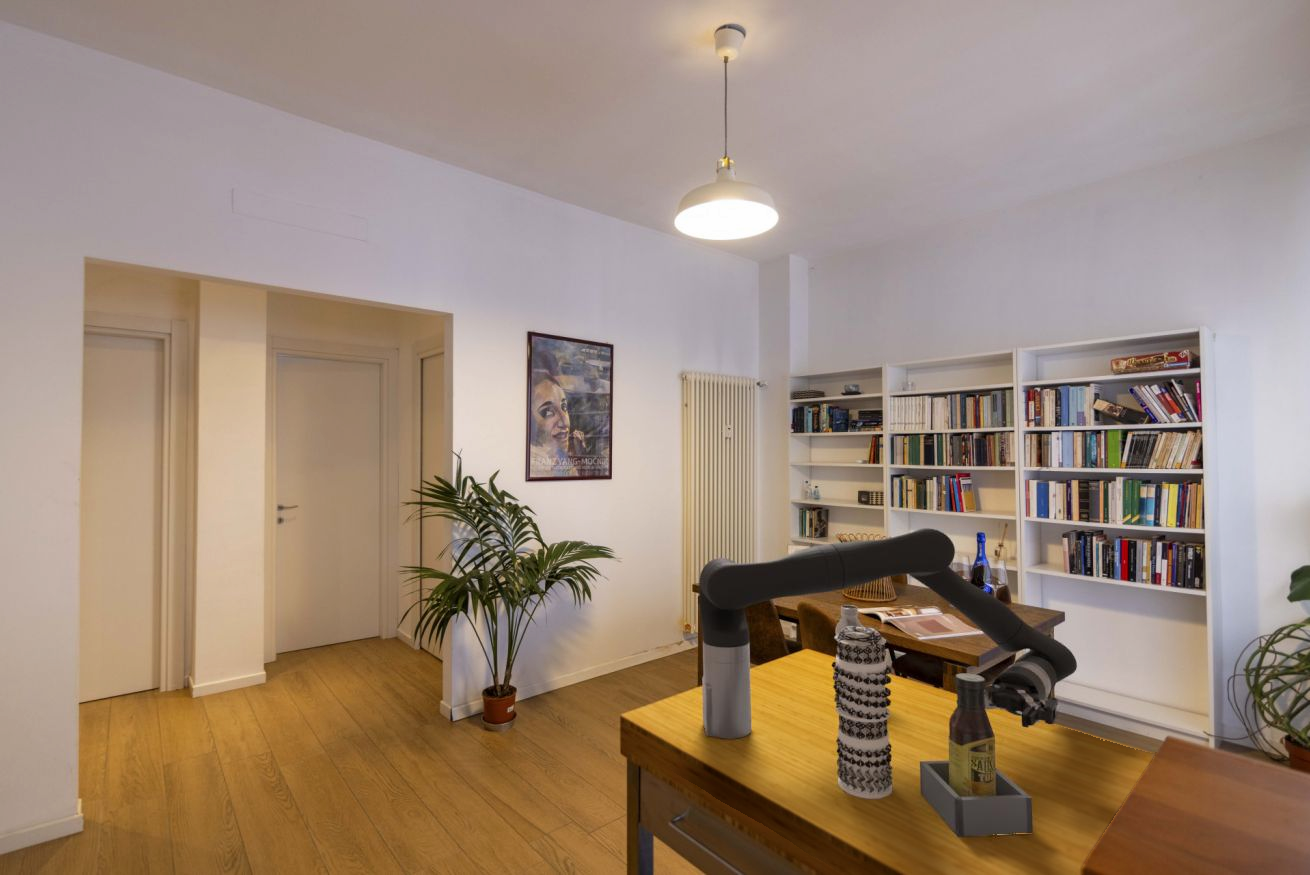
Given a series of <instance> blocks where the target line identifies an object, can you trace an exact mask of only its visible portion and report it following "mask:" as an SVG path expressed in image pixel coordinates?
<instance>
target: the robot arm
mask: <svg viewBox="0 0 1310 875" xmlns="http://www.w3.org/2000/svg"><path fill="white" fill-rule="evenodd" d="M955 548H956V547H955V545H954V542H953V540H951V538H950V537H949V536H948V535H947V534H945V533H944V532H942V531H940V530H938V529H934V528H928V527H927V528H919V529H917V530H914V531H912V532H908V533H904V534H901V535H897V536H892V537H888V538H883V539H882V538H881V539H872V540H871V539H870V540H857V541H855V540H853V541H844V542H836V543H834V542H833V543H826V544H821V545H814V546H809V547H806V548H802V549H799V550H797V551H794V552H792V553H790V554H787V555H784V556H783V557H780V558H777V559H774V560H769V561H760V562H752V563H751V562H750V563H746V562H745V563H737V562H735V561H734V560H732V559H729V558H725V557H724V558H723V557H718V558H714V559H712V560H710V561H708V562H707V563H706V564H705V565H704V566H703V567H702V570H701V572H700V575H699V582H698V586H699V587H698V590H699V591H698V592H699V593H698V594H699V614H700V615H699V617H700V624H701V631H702V651H703V652H702V661H703V666H702V668H703V676H702V678H701V679H702V681H701V682H702V687H701V688H702V724H703V727H704V728H705V729H704V732H705V736H707V737H715V738H720V739H730V740H731V739H739V738H743V737H746V736H748V735H749V734H750V733H751V732H752V702H751V692H752V691H751V657H750V656H751V654H750V653H751V651H750V647H751V646H750V629H749V624H748V621H747V617H746V612H745V608H746V607H750V606H752V605H755V604H759V603H760V604H761V603H762V602H767V601H771V600H775V599H780V598H781V599H782V598H787V597H788V598H789V597H799V596H800V597H801V596H807V595H813V594H821V593H823V594H824V593H828V592H834V591H840V590H845V589H846V590H847V589H851V588H853V587H859V586H862V585H865V584H868V583H872V582H875V581H878V580H881V579H884V578H888V577H892V576H899V575H909V576H911V577H912V578H913V579H915V580H916V581H917V582H920V583H921V584H923V585H924V586H925V587H927V588H928V589H929V590H931V591H932V592H934V593H935V594H936V595H938V596H939V597H941V598H942V599H943V600H945V601H946V602H947V603H949V604H950V605H951V606H953V607H954V608H955V609H956V610H957V611H959V612H960V613H961V614H962V615H963V616H965V617H966V618H967V619H968V620H969V621H970V622H972V624H974V625H975V626H976V627H977V628H978V629H979V630H980V631H982V632H983V633H984V634H985V635H986V637H988V638H989V639H990V640H991V641H992V642H994V643H995V644H996V645H997V647H999V648H1000V649H1002V650H1003V651H1004V652H1007V653H1014V652H1018V651H1022V650H1029V651H1027V652H1025V653H1023V654H1022V655H1020V656H1019V657H1018V658H1017V659H1016V660H1015V661H1014V663H1013V664H1011V665H1009V666H1008V667H1006V668H1005V669H1004V670H1003V671H1002V672H1000V673H999V674H998V675H997V676H996V677H995V679H994V680H993V683H992V684H990V685H986V688H985V690H984V698H985V700H984V701H985V710H995V709H996V710H999V709H1000V710H1004V711H1006V712H1008V713H1010V714H1012V715H1015V716H1019V717H1021V727H1023V728H1027V729H1028V728H1029V727H1030V726H1034V725H1035V724H1036V723H1040V721H1044V723H1045V724H1048V725H1054V723H1055V722H1056V719H1057V718H1058V716H1059V699H1058V698H1057V697H1054V696H1050V697H1049V695H1050V693H1051V692H1052V691H1053V690H1054V688H1055V686H1056V684H1057V683H1060V682H1061V681H1062V680H1064V679H1066V678H1068V677H1069V676H1071V675H1073V674H1074V673H1075V672H1077V671H1076V670H1077V668H1078V663H1077V659H1076V657H1075V655H1074V653H1073V652H1072V651H1071V650H1070V649H1069V648H1068V647H1067V646H1066V645H1064V643H1062V642H1060V641H1058V640H1057V639H1055V638H1052V636H1048V635H1047V634H1044V632H1042V631H1040V630H1038V629H1036V628H1035V627H1033V626H1031V625H1029V624H1028V623H1026V622H1025V621H1024V620H1023V619H1022V618H1021V617H1019V616H1018V615H1017V614H1016V613H1015V612H1014V611H1013V610H1012V609H1010V607H1008V606H1007V605H1006V604H1005V603H1004V602H1002V601H1001V600H1000V599H998V598H997V597H996V596H994V595H992V594H991V593H988V592H987V591H985V590H983V589H981V588H980V587H978V586H977V585H975V584H974V583H971V582H969V581H968V580H966V579H965V578H963V577H962V576H961V575H959V574H958V573H957V572H955V571H954V570H953V569H952V568H951V567H950V566H951V564H952V562H953V560H954V558H955V554H956V549H955ZM1048 697H1049V698H1048Z"/></svg>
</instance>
